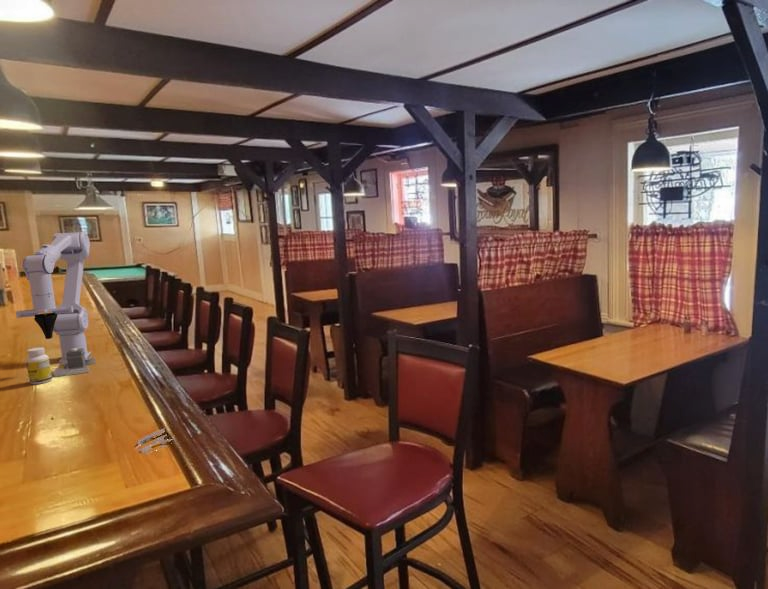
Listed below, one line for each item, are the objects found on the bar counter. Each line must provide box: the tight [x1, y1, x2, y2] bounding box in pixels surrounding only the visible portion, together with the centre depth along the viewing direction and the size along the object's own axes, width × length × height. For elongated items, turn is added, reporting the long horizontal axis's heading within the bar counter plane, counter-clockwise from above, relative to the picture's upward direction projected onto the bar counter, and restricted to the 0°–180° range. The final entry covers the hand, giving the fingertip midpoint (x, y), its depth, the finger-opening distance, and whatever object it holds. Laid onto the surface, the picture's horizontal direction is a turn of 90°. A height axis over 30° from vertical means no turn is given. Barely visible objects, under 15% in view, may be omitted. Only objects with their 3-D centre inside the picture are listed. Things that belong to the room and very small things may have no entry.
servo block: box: [66, 348, 87, 368], centre depth 159 cm, size 6×4×7 cm, turn 21°
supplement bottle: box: [25, 346, 53, 385], centre depth 147 cm, size 5×5×10 cm
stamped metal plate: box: [134, 427, 173, 455], centre depth 101 cm, size 8×7×2 cm
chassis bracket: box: [53, 357, 96, 378], centre depth 159 cm, size 13×9×2 cm
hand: (49, 338), depth 157 cm, fingers closed
